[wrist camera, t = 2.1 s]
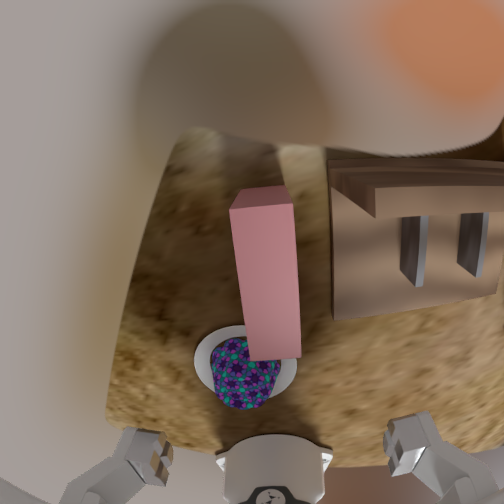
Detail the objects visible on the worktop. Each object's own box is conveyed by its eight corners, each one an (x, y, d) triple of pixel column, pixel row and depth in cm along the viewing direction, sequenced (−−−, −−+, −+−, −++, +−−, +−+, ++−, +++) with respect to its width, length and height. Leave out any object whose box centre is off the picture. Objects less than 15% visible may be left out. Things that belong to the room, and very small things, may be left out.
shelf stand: (491, 290, 30) (551, 345, 18) (332, 315, 32) (359, 405, 19) (504, 161, 25) (587, 182, 12) (327, 160, 26) (374, 174, 14)
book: (293, 302, 31) (301, 357, 23) (255, 305, 32) (250, 361, 23) (284, 184, 27) (292, 203, 19) (240, 189, 28) (228, 209, 19)
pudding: (181, 328, 34) (169, 357, 29) (288, 313, 32) (291, 342, 27) (211, 400, 37) (205, 430, 32) (302, 390, 36) (305, 421, 31)
